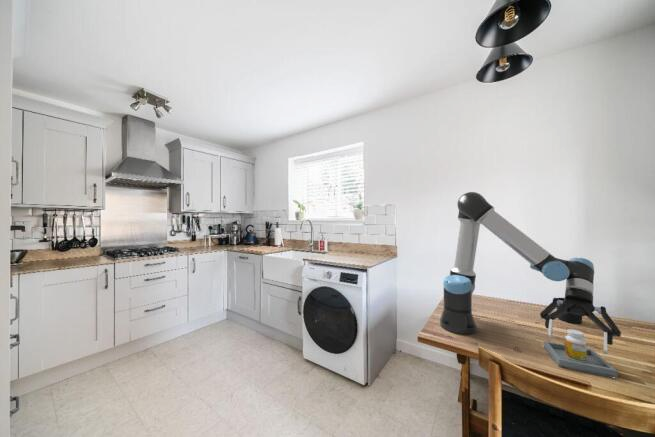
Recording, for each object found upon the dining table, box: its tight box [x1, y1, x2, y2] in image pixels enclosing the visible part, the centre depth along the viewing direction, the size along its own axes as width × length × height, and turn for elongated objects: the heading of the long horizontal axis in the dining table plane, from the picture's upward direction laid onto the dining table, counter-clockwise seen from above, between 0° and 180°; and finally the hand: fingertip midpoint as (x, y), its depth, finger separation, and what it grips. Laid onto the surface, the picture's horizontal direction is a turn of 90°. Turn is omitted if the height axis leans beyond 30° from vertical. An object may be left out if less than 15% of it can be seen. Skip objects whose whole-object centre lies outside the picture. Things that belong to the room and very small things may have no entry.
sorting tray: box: [543, 340, 618, 379], centre depth 85 cm, size 14×14×2 cm
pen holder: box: [556, 297, 583, 325], centre depth 119 cm, size 9×9×10 cm
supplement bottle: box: [564, 328, 588, 363], centre depth 85 cm, size 5×5×10 cm
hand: (575, 344), depth 83 cm, fingers open, 13 cm apart
